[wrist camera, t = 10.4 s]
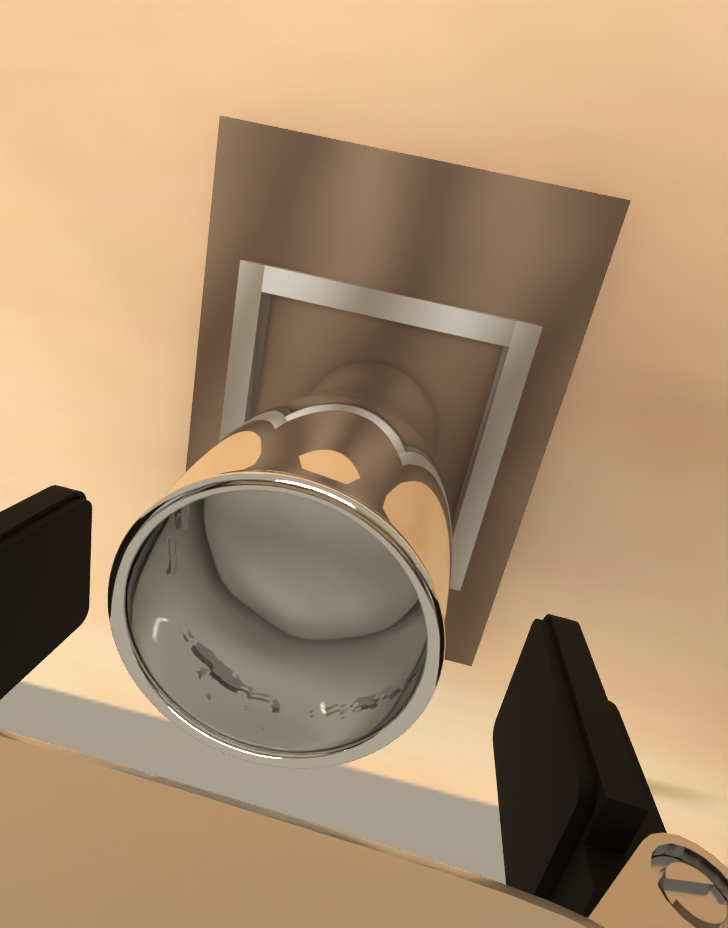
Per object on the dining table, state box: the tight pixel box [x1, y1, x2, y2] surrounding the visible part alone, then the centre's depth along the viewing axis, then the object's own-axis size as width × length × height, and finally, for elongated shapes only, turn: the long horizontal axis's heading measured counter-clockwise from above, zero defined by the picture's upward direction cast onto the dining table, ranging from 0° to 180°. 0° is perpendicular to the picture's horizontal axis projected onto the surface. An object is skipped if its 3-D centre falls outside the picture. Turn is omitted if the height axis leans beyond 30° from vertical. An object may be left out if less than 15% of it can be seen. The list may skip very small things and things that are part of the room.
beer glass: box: [108, 362, 452, 769], centre depth 17 cm, size 7×7×15 cm
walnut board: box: [186, 116, 630, 666], centre depth 24 cm, size 16×22×3 cm
